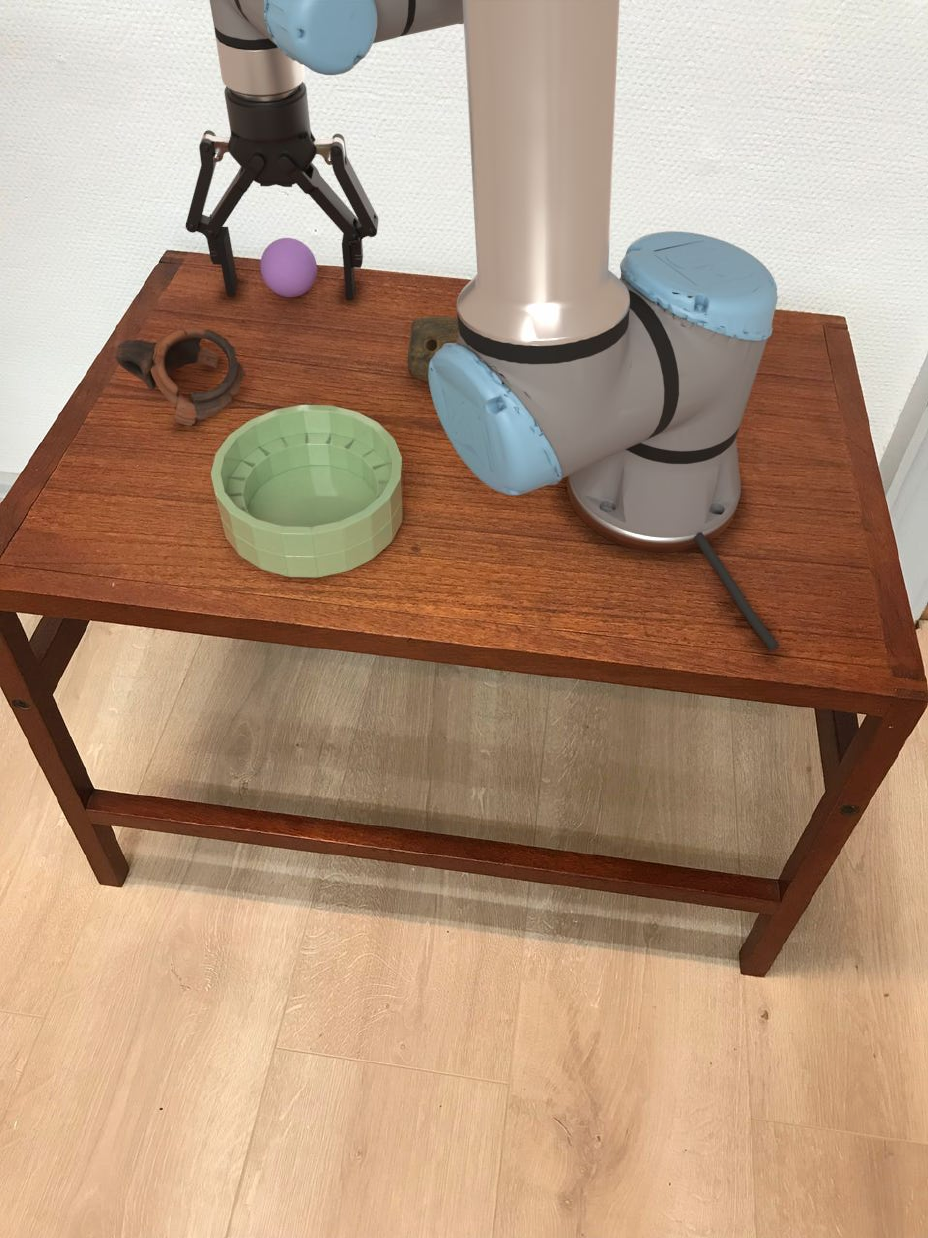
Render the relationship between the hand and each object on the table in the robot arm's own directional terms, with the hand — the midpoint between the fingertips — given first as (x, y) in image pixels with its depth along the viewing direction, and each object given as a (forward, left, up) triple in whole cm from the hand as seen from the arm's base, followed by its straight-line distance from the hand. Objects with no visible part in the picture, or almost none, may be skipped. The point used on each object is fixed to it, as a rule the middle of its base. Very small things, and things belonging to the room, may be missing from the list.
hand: (291, 290), depth 107 cm
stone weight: (-15, -21, 0) cm, 26 cm away
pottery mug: (-18, +8, 0) cm, 20 cm away
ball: (0, 0, +3) cm, 3 cm away
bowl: (-34, -6, 0) cm, 35 cm away
